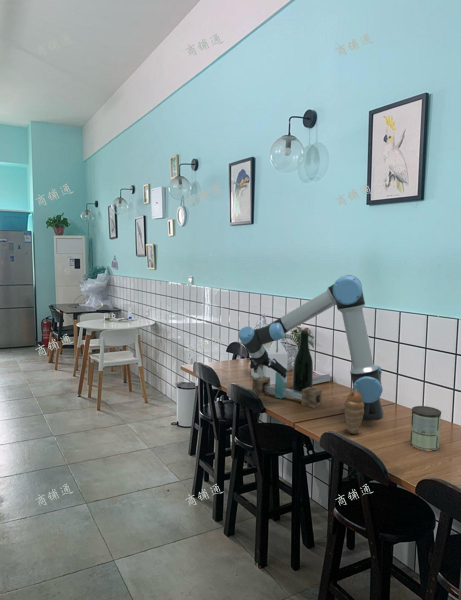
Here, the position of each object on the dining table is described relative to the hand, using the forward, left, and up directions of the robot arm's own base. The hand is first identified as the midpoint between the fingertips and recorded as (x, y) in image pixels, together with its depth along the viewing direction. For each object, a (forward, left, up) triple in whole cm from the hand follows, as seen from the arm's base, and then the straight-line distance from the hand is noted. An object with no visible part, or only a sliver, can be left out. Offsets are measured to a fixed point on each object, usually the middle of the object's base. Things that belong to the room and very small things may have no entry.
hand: (274, 378), depth 230 cm
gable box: (+23, -32, -11) cm, 41 cm away
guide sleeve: (-18, -5, -11) cm, 22 cm away
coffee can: (-75, +12, -11) cm, 76 cm away
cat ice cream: (-49, +18, -11) cm, 53 cm away
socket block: (+11, -5, -11) cm, 16 cm away
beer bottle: (-4, -23, -11) cm, 26 cm away
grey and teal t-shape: (-2, -5, -10) cm, 12 cm away
